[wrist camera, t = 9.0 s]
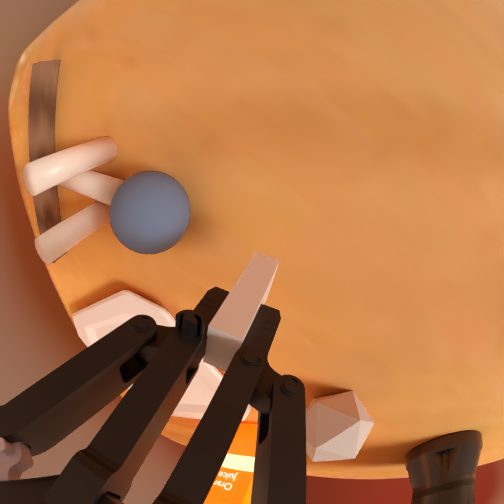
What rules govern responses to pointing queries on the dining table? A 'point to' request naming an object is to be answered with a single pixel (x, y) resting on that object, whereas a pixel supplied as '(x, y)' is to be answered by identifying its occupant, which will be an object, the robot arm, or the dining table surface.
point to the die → (336, 427)
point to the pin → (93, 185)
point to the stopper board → (44, 136)
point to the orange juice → (236, 470)
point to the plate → (130, 304)
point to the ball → (149, 212)
